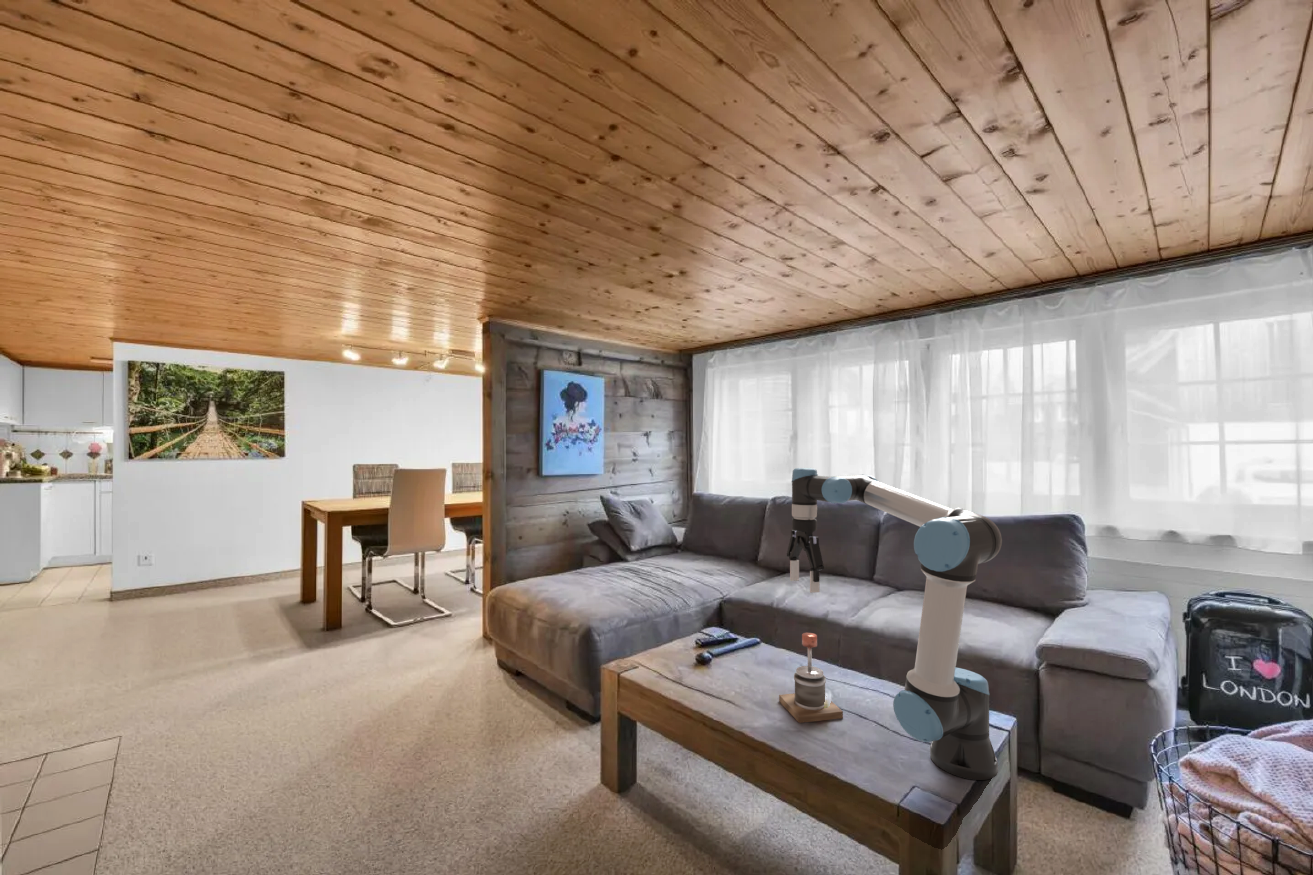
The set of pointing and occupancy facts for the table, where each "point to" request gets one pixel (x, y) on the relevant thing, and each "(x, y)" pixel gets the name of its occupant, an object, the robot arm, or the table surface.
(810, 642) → the plunger
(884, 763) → the table surface
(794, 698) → the stand
